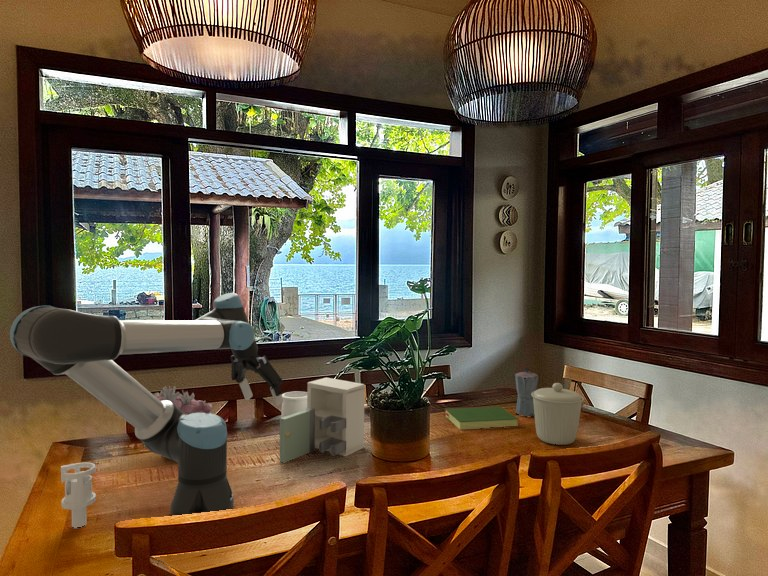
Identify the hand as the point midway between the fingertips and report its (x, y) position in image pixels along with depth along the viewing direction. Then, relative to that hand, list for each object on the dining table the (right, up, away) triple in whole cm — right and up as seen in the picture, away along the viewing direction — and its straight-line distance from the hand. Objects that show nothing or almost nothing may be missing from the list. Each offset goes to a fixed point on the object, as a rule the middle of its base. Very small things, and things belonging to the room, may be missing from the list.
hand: (264, 400), depth 164 cm
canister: (+100, -20, +24) cm, 105 cm away
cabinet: (+19, -19, +12) cm, 30 cm away
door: (+10, -19, +6) cm, 22 cm away
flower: (-29, -19, +9) cm, 36 cm away
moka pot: (+98, -18, +57) cm, 115 cm away
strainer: (-35, -21, -40) cm, 57 cm away
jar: (+5, -18, +27) cm, 33 cm away
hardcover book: (+76, -19, +46) cm, 91 cm away
